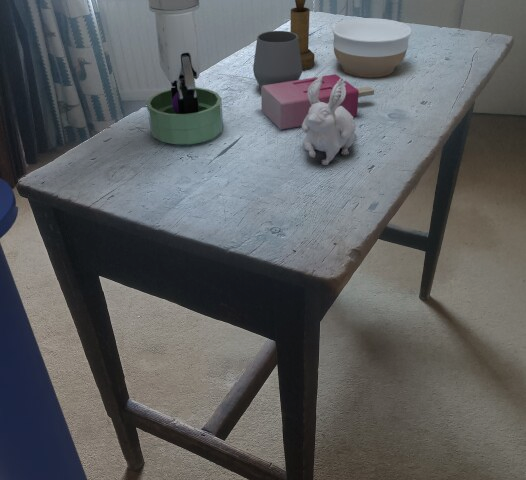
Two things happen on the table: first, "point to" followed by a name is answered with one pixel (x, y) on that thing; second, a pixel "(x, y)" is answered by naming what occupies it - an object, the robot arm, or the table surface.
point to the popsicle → (304, 99)
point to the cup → (277, 58)
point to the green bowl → (185, 118)
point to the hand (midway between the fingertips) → (186, 114)
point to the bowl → (370, 45)
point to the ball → (176, 103)
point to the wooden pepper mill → (302, 33)
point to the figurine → (328, 122)
